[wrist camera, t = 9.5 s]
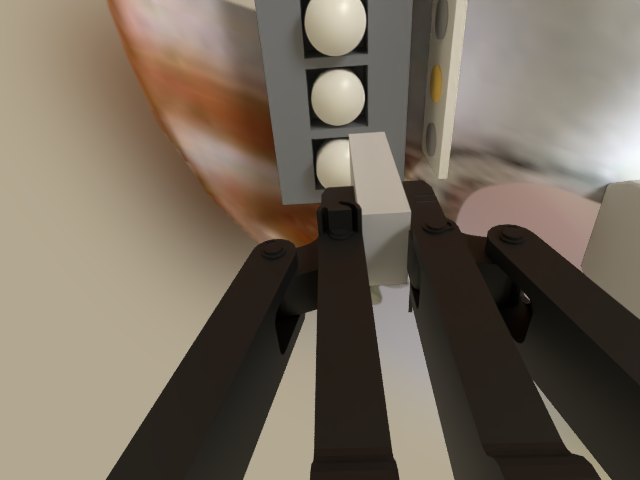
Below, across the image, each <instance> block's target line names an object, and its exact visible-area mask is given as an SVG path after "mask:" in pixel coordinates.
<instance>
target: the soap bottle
mask: <svg viewBox="0 0 640 480" xmlns="http://www.w3.org/2000/svg"><path fill="white" fill-rule="evenodd" d="M581 267H582V270H583V273H584V274H585V275H586V276H587V277H588V278H590V279H591V280H592V281H593V282H594V283H596V284H597V285H598V286H599V287H601V288H602V289H603V290H604V291H606V292H607V293H608V294H609V295H610V296H612V297H613V298H614V299H615V300H617V301H618V302H619V303H620V304H622V305H623V306H624V307H625V308H626V309H628V310H629V311H630V312H631V313H633V314H634V315H635V316H636V317H638V318H639V319H640V180H632V181H624V182H616V183H610V184H609V185H608V186H607V189H606V192H605V195H604V198H603V201H602V204H601V207H600V210H599V213H598V216H597V219H596V222H595V225H594V228H593V231H592V234H591V237H590V240H589V243H588V246H587V249H586V252H585V255H584V258H583V261H582V264H581Z"/></svg>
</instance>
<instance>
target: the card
mask: <svg viewBox="0 0 640 480" xmlns="http://www.w3.org/2000/svg"><path fill="white" fill-rule="evenodd" d="M467 4H468V0H433V5H432V18H431V32H430V45H429V59H428V72H427V85H426V99H425V112H424V126H423V139H422V151H423V153H424V155H425V157H426V158H427V160H428V162H429V164H430V165H431V167H432V169H433V171H434V173H435V174H436V176H437V178H438V179H447V176H448V167H449V159H450V150H451V141H452V133H453V124H454V116H455V107H456V98H457V90H458V81H459V73H460V64H461V55H462V47H463V38H464V30H465V21H466V12H467Z"/></svg>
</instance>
